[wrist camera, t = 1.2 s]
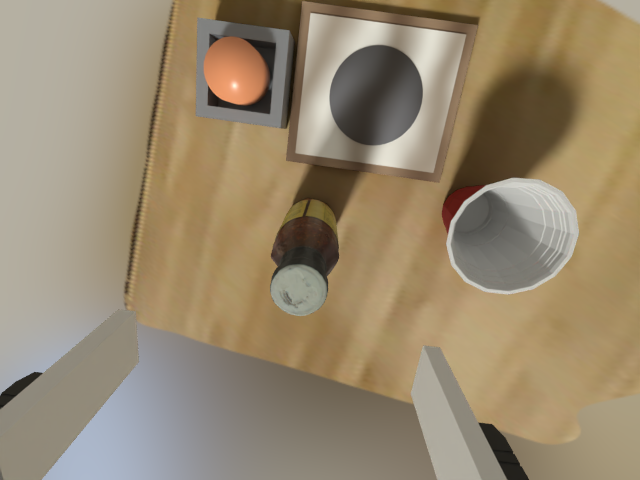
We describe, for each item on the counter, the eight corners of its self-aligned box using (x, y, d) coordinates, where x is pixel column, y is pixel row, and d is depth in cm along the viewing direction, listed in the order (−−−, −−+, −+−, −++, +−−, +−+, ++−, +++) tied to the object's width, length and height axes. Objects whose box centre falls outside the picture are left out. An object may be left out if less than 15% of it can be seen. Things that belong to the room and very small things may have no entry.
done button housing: (294, 41, 36) (289, 30, 32) (286, 128, 38) (280, 128, 35) (212, 30, 36) (197, 17, 32) (209, 117, 39) (195, 116, 35)
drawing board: (474, 28, 34) (479, 24, 33) (437, 181, 39) (440, 182, 38) (303, 4, 35) (301, -1, 33) (287, 159, 40) (285, 160, 38)
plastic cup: (416, 171, 39) (448, 186, 28) (511, 159, 38) (585, 169, 27) (420, 257, 42) (450, 302, 31) (508, 247, 41) (573, 290, 30)
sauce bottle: (287, 244, 43) (247, 330, 24) (286, 196, 41) (240, 248, 22) (338, 244, 42) (338, 333, 24) (339, 196, 41) (339, 250, 22)
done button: (272, 50, 33) (265, 40, 30) (267, 109, 35) (260, 106, 32) (217, 42, 33) (204, 32, 30) (215, 101, 35) (202, 98, 32)
